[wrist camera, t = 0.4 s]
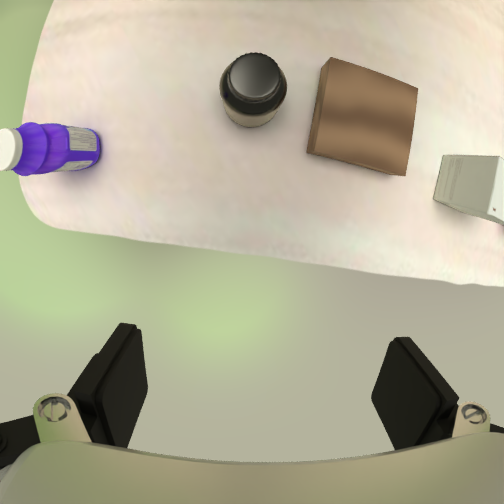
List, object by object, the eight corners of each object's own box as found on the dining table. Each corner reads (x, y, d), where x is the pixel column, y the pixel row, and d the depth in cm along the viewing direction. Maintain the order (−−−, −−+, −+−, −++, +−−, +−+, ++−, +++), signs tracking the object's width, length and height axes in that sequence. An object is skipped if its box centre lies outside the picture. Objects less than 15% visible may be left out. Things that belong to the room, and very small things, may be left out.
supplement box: (464, 214, 40) (518, 232, 28) (431, 199, 39) (486, 214, 27) (474, 170, 38) (530, 178, 26) (442, 152, 37) (499, 154, 25)
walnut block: (321, 68, 35) (330, 57, 30) (400, 94, 36) (418, 88, 31) (305, 152, 38) (314, 151, 33) (388, 174, 39) (405, 176, 34)
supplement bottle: (281, 125, 37) (296, 109, 25) (226, 130, 37) (219, 115, 25) (275, 75, 35) (287, 41, 23) (221, 80, 35) (212, 47, 23)
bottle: (104, 125, 36) (26, 110, 19) (105, 166, 37) (26, 173, 20) (62, 134, 36) (-22, 129, 19) (63, 173, 37) (-21, 185, 20)
